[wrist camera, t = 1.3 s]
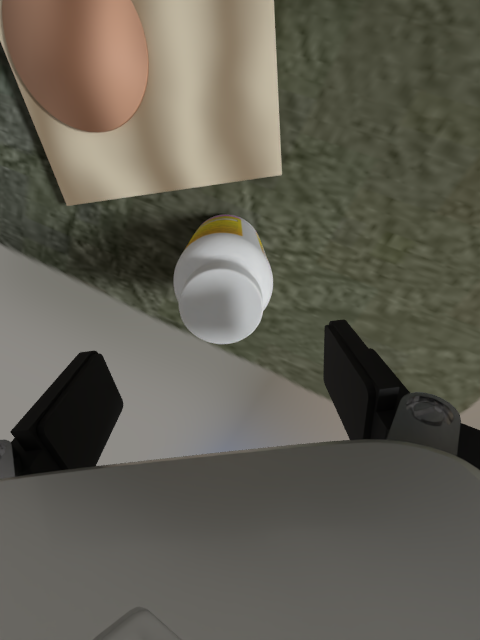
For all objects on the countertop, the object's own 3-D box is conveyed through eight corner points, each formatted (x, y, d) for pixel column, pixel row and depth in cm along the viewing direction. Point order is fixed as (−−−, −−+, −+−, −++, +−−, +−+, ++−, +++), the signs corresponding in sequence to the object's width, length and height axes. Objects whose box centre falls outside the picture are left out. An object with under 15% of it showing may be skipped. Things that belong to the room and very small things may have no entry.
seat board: (265, -87, 16) (269, -117, 15) (279, 174, 23) (282, 174, 21) (-16, -33, 17) (-43, -55, 15) (76, 204, 24) (64, 206, 22)
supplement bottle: (178, 252, 26) (134, 313, 15) (222, 196, 24) (210, 218, 12) (230, 294, 28) (227, 375, 17) (275, 247, 26) (306, 304, 15)
